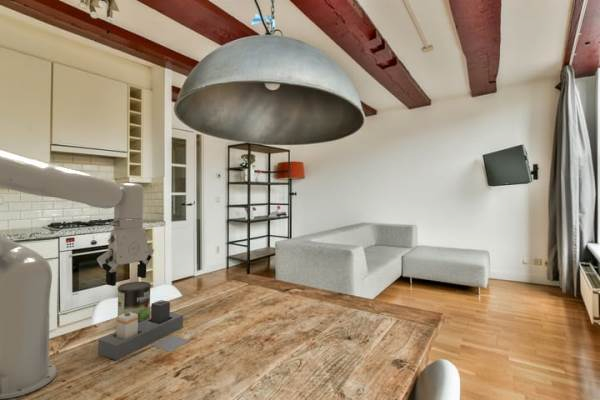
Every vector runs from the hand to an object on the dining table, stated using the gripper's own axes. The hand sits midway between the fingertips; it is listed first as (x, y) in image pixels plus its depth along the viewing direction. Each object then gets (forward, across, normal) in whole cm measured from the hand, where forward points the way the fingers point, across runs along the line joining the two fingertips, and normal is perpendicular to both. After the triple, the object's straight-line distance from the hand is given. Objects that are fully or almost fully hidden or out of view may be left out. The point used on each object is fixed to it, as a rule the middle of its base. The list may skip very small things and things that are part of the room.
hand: (127, 281), depth 91 cm
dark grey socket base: (+20, +6, 0) cm, 21 cm away
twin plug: (+18, +12, 0) cm, 22 cm away
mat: (+20, +8, -10) cm, 24 cm away
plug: (+18, 0, 0) cm, 18 cm away
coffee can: (+21, +12, +13) cm, 27 cm away
